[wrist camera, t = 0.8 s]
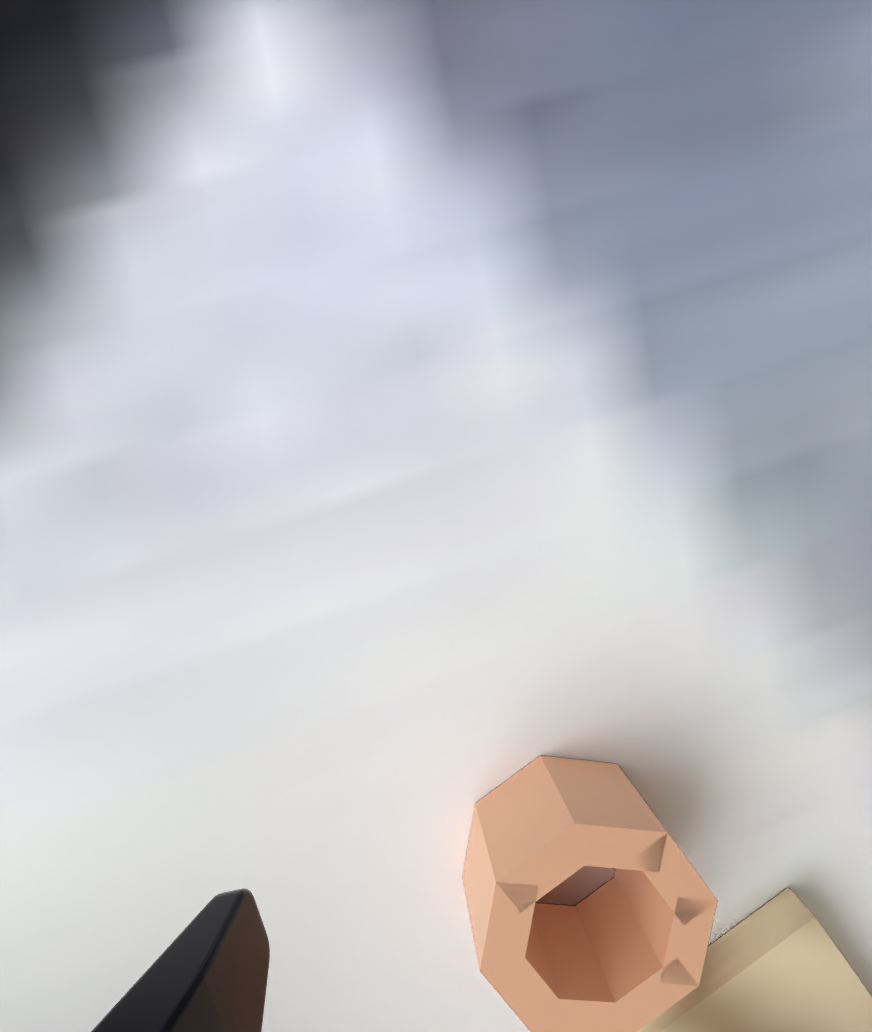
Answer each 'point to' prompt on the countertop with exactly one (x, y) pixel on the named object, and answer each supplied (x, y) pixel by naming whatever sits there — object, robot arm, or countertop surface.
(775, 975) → the post stand
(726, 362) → the countertop surface
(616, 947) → the ring
